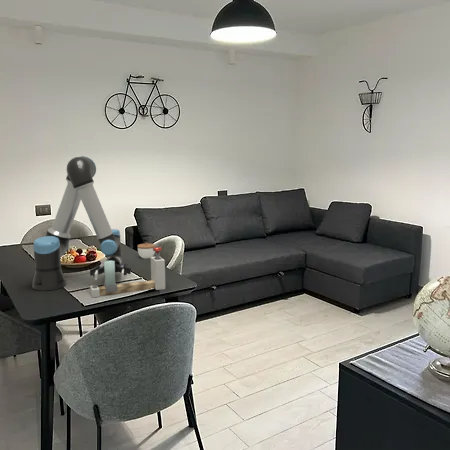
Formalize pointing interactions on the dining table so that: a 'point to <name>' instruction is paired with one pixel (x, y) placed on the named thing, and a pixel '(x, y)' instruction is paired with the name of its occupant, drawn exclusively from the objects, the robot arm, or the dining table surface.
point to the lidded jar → (146, 250)
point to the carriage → (110, 276)
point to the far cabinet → (158, 273)
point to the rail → (129, 287)
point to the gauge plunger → (157, 252)
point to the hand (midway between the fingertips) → (109, 276)
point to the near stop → (94, 291)
